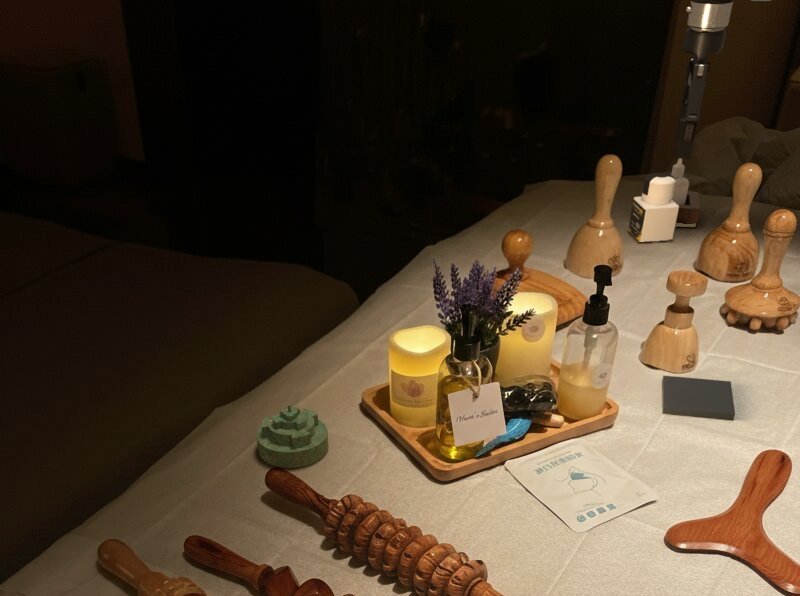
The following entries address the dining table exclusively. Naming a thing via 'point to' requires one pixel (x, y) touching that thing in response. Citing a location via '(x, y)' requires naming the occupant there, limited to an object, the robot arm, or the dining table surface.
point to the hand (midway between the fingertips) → (682, 148)
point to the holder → (689, 209)
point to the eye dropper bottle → (679, 183)
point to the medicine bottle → (654, 209)
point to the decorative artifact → (292, 438)
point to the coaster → (697, 397)
